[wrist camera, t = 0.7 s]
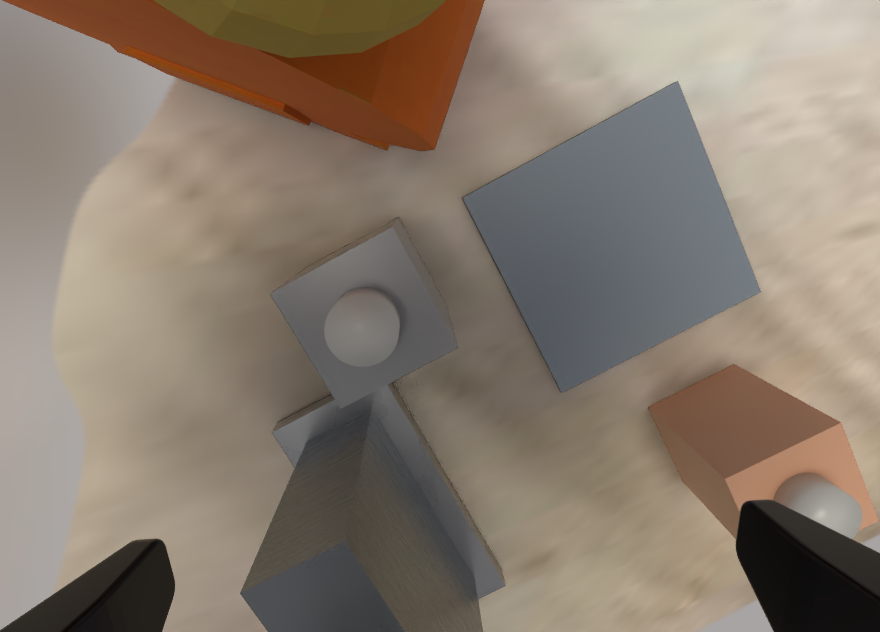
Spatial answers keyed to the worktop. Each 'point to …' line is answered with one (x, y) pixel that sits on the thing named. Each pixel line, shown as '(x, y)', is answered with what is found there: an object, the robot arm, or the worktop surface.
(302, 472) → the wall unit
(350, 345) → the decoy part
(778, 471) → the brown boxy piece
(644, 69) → the worktop surface
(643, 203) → the mat
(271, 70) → the alarm clock
